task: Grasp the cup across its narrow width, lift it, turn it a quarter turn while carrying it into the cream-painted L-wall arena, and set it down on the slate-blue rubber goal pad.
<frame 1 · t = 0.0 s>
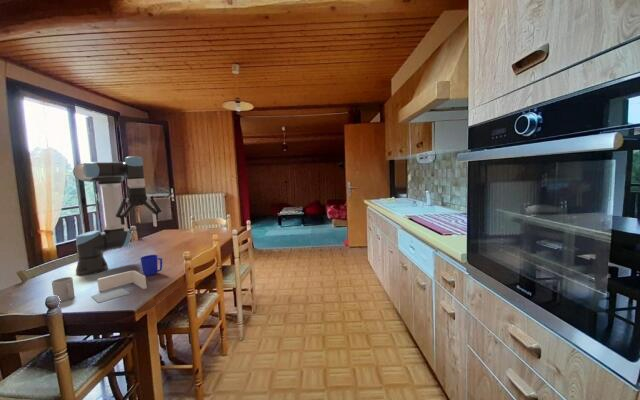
hand: (141, 228, 151), 28 cm above the table, fingers open, 13 cm apart
cup: (66, 299, 135), on the table
goal pad: (110, 295, 137), on the table
mug: (153, 274, 165), on the table
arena: (134, 281, 154), on the table
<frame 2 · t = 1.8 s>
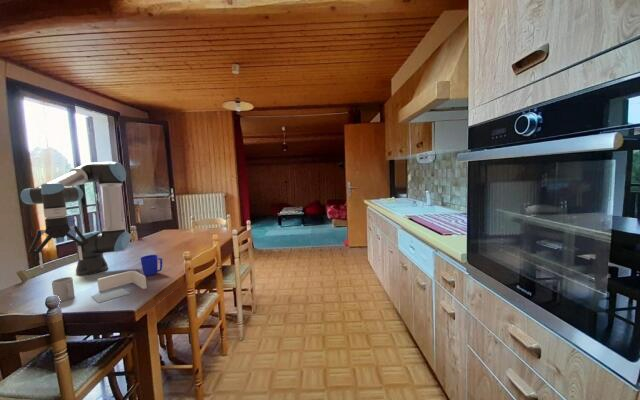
hand: (62, 263, 134), 17 cm above the table, fingers open, 13 cm apart
nothing on the table moved.
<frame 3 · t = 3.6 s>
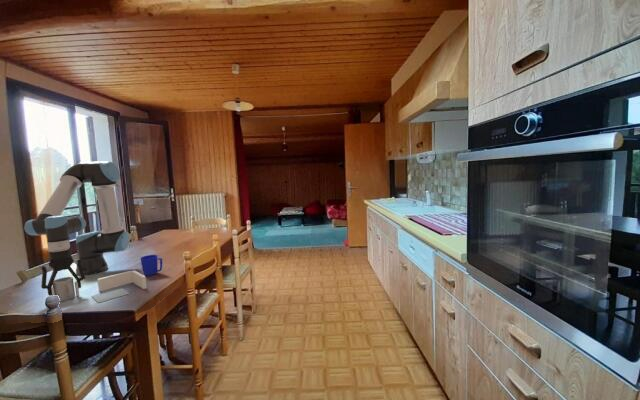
hand: (66, 298, 135), 0 cm above the table, fingers open, 8 cm apart
cup: (66, 299, 135), on the table, touching gripper
everything else where it was.
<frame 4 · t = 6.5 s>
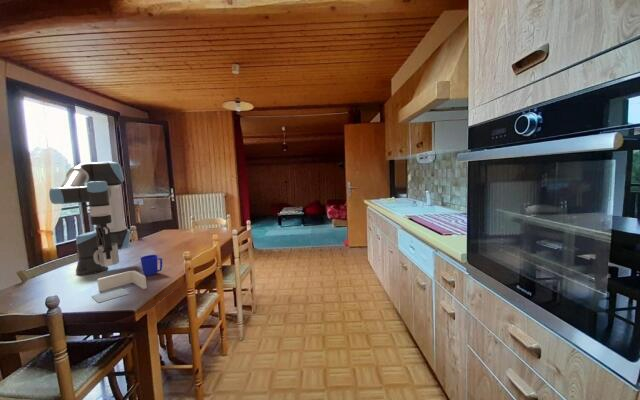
hand: (106, 264, 136), 15 cm above the table, fingers closed on cup, 7 cm apart
cup: (106, 265, 136), point 14 cm above the table, touching gripper
everything else where it was.
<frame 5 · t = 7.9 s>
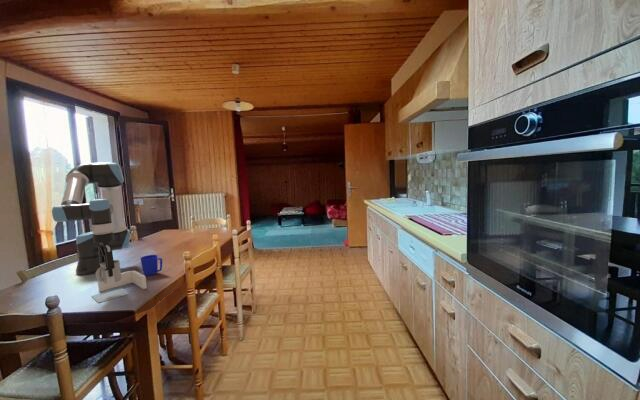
hand: (108, 281, 136), 7 cm above the table, fingers closed on cup, 7 cm apart
cup: (109, 282, 136), point 6 cm above the table, touching gripper
everything else where it was.
when the fingers open (2 cm above the table, at t = 9.2 s): cup drops 1 cm, resting on goal pad.
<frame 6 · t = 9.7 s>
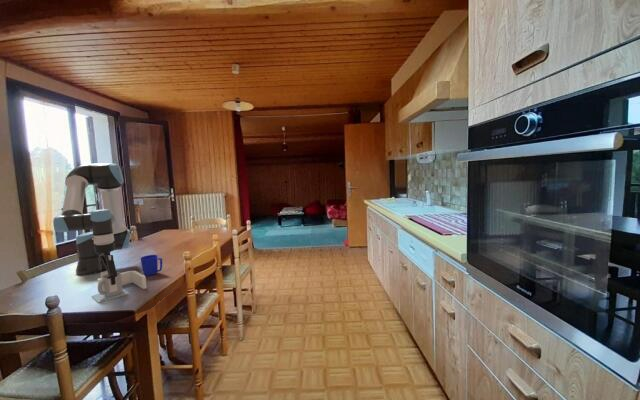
hand: (109, 288, 137), 3 cm above the table, fingers open, 13 cm apart
cup: (110, 295, 137), resting on goal pad
everything else where it was.
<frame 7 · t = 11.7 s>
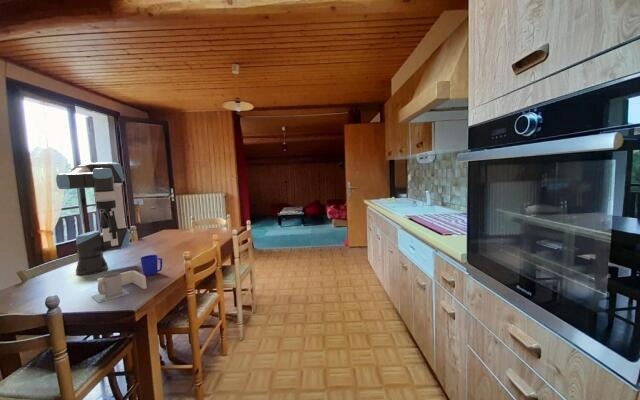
hand: (110, 243, 144), 23 cm above the table, fingers open, 13 cm apart
nothing on the table moved.
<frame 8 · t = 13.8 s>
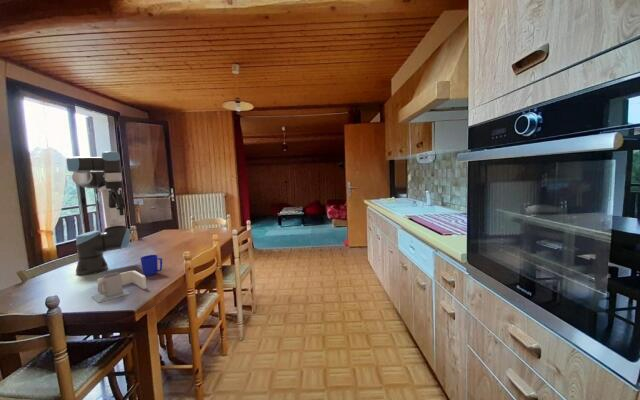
hand: (118, 220, 158), 32 cm above the table, fingers open, 13 cm apart
nothing on the table moved.
at the end: cup inside the target area on the goal pad (0.4 cm from its centre), point 0.1 cm above the goal pad's base; cup tilted 0°; the gripper is holding nothing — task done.
